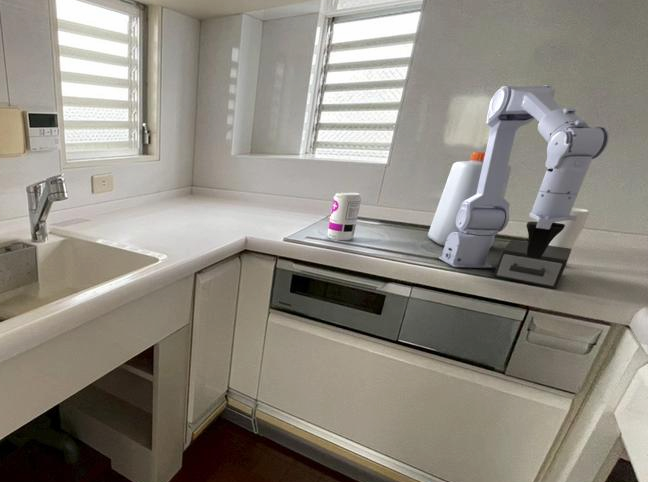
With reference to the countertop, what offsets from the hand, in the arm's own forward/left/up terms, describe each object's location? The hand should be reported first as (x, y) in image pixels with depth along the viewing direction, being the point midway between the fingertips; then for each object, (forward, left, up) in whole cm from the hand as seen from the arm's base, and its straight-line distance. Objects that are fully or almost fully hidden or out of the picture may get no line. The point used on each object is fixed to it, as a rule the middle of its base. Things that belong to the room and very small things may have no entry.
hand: (533, 256), depth 86 cm
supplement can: (-23, +50, -10) cm, 56 cm away
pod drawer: (+9, +12, -8) cm, 18 cm away
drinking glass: (+26, +27, -10) cm, 39 cm away
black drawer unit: (+12, +15, -9) cm, 21 cm away
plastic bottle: (+13, +47, -10) cm, 50 cm away
